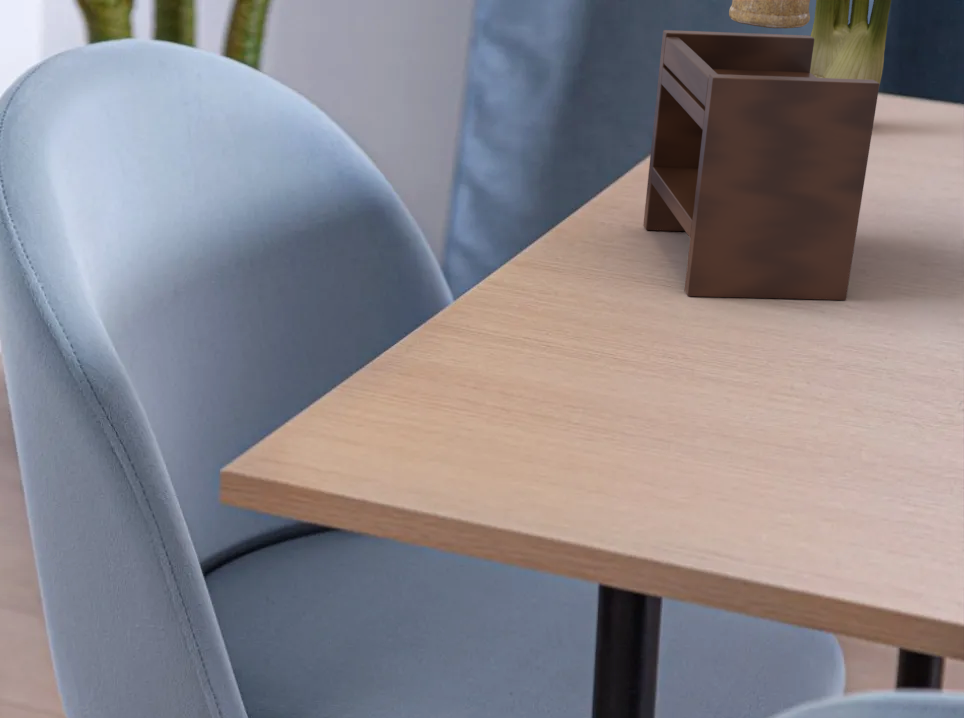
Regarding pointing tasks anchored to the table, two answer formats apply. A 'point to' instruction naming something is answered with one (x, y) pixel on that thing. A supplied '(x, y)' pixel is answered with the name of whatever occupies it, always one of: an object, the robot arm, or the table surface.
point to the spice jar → (771, 13)
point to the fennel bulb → (849, 39)
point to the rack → (758, 164)
